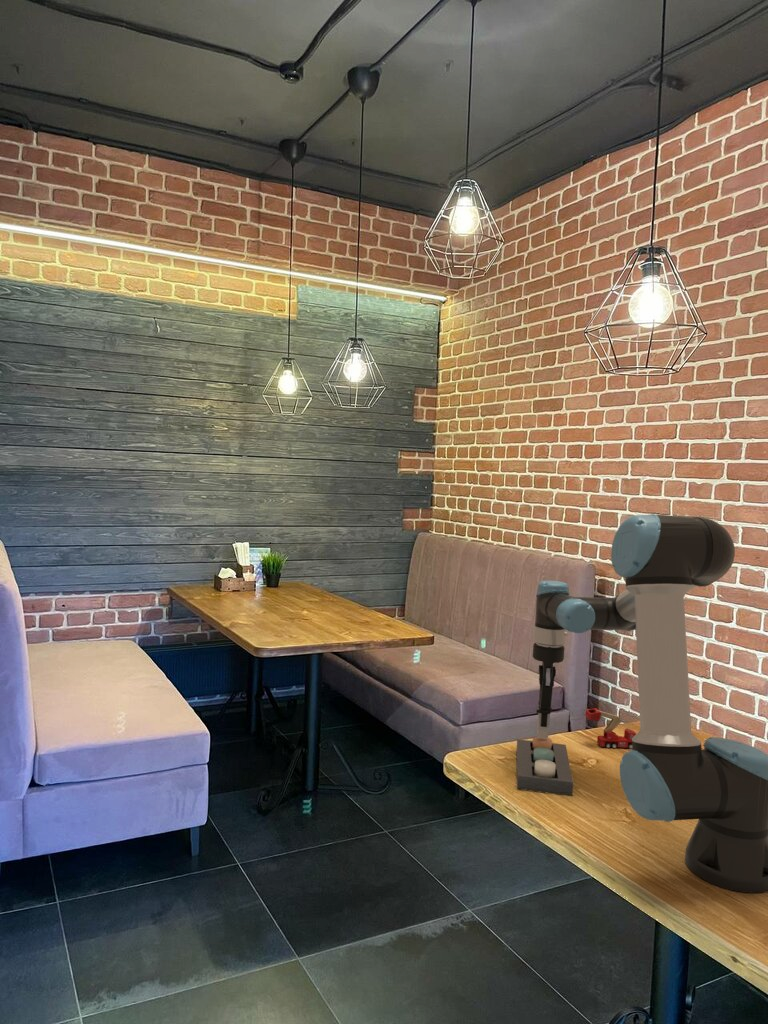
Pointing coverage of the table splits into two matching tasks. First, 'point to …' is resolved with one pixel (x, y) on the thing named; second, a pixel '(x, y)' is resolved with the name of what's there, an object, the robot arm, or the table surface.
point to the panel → (544, 784)
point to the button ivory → (544, 768)
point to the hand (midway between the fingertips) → (542, 737)
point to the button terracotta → (541, 743)
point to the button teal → (543, 754)
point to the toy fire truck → (611, 730)
